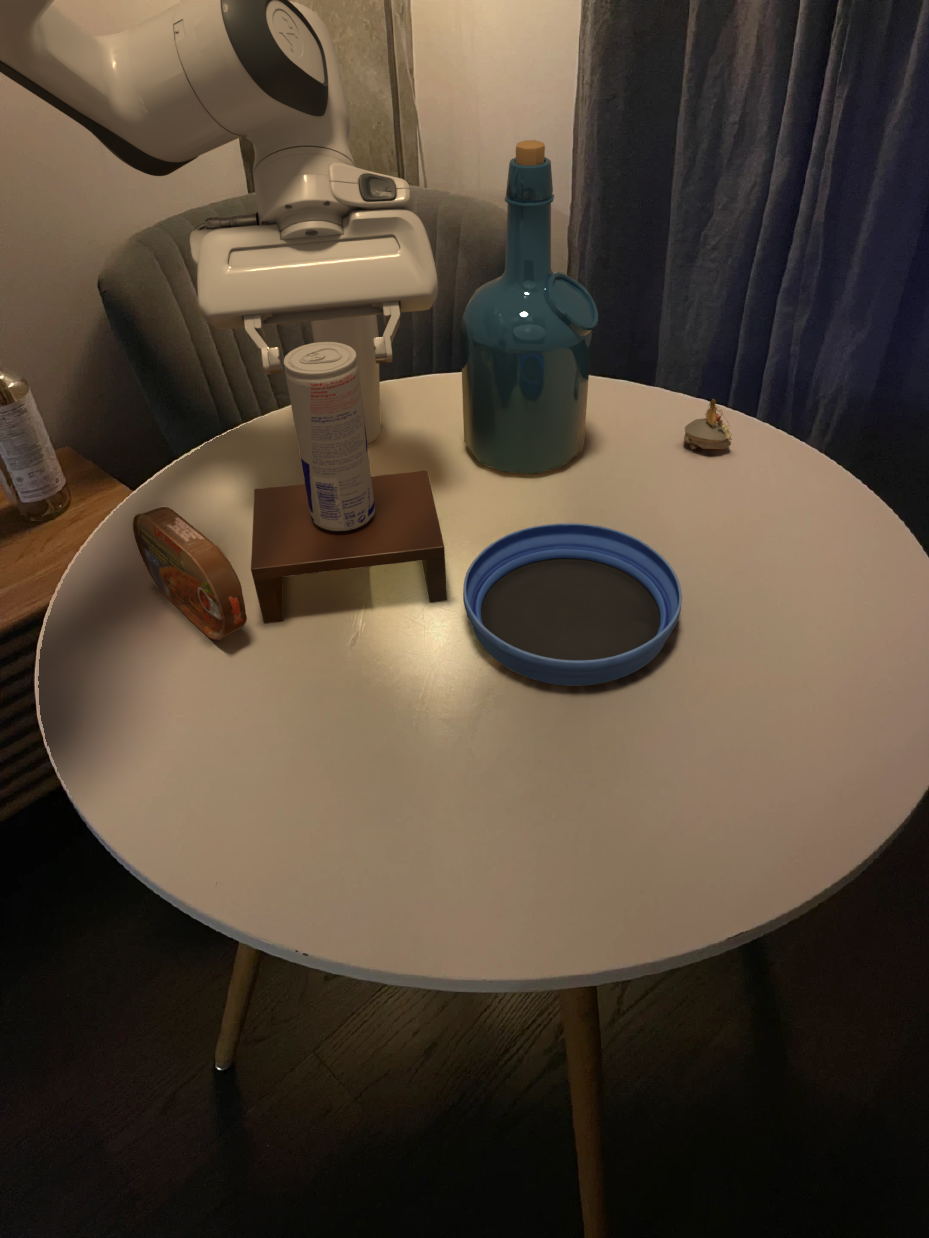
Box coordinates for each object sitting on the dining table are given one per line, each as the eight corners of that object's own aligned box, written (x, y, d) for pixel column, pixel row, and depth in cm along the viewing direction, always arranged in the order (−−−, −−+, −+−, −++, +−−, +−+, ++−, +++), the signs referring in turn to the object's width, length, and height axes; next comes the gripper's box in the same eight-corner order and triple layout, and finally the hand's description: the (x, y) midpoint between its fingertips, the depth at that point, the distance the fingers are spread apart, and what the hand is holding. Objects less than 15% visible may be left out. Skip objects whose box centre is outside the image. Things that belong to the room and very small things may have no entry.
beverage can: (388, 508, 78) (371, 348, 68) (350, 542, 75) (327, 378, 65) (337, 491, 80) (313, 333, 70) (298, 523, 77) (267, 362, 67)
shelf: (263, 623, 76) (250, 569, 72) (266, 541, 85) (254, 488, 81) (447, 601, 78) (444, 546, 74) (430, 522, 87) (427, 469, 83)
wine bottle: (444, 465, 94) (429, 158, 74) (490, 407, 103) (487, 119, 83) (567, 490, 90) (586, 172, 70) (604, 428, 99) (629, 130, 79)
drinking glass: (374, 455, 96) (359, 321, 86) (317, 446, 98) (296, 314, 88) (397, 425, 101) (385, 295, 91) (343, 416, 103) (326, 288, 93)
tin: (144, 576, 82) (117, 500, 76) (174, 561, 83) (151, 486, 78) (229, 659, 73) (206, 580, 68) (261, 641, 75) (242, 562, 69)
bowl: (719, 617, 75) (727, 585, 73) (578, 730, 66) (581, 698, 64) (562, 528, 85) (564, 497, 83) (421, 616, 76) (418, 585, 74)
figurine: (675, 449, 95) (683, 399, 91) (691, 431, 98) (699, 381, 94) (722, 463, 93) (732, 411, 89) (737, 444, 96) (748, 393, 92)
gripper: (177, 200, 72) (197, 366, 72) (426, 179, 74) (448, 341, 73) (195, 238, 79) (213, 390, 78) (424, 217, 80) (443, 367, 80)
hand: (329, 366), depth 76 cm, fingers open, 8 cm apart
